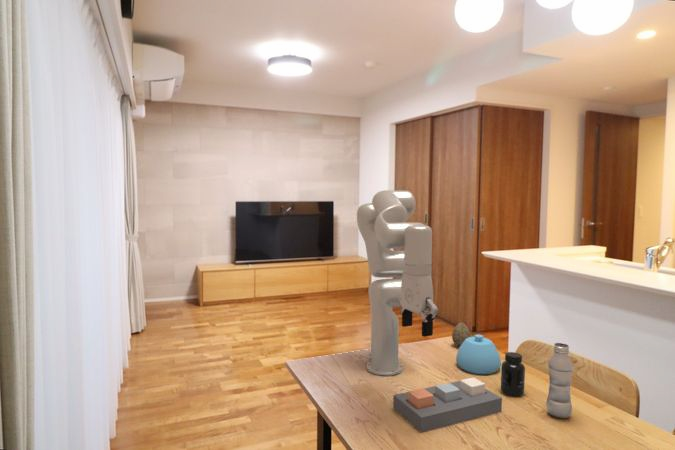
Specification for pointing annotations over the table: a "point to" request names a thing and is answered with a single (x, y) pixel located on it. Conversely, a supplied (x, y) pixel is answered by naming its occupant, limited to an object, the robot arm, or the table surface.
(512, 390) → the supplement bottle
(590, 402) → the table surface
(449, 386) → the light gray button
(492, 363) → the sugar bowl
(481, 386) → the cream button
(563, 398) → the plastic bottle
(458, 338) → the decorative egg
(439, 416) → the button panel
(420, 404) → the terracotta button
